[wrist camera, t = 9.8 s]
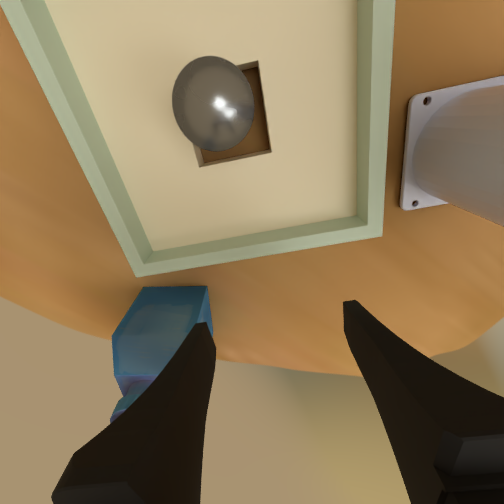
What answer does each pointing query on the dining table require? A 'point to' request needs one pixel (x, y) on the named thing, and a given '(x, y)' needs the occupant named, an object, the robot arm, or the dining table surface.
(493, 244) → the dining table surface
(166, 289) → the perfume bottle
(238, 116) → the peg
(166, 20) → the box
